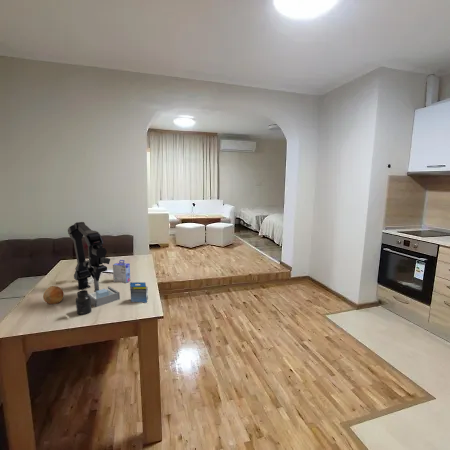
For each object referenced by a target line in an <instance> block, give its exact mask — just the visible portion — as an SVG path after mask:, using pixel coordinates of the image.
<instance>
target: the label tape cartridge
mask: <svg viewBox="0 0 450 450" xmlns="http://www.w3.org/2000/svg"><path fill="white" fill-rule="evenodd" d="M129 288H130V289H129V290H130V302H135V303H136V302H137V303H141V302H142V303H143V304H147V303H148V299H149V290H148V286H147V285H146V282H145V281H144V282H140V281H139V282H137V281H136V282H133V281H132V282H131V281H129Z"/></svg>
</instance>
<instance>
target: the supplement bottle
mask: <svg viewBox="0 0 450 450" xmlns="http://www.w3.org/2000/svg"><path fill="white" fill-rule="evenodd" d="M88 291H89V290H86V289H85V290H84V289H82V290H79V291H78V292H76V296H77V297H76V298H75V307H76V315H78V316H86V315H89V314H91V313H92V308H93V307H92V304H91V298H90V296H89V295H88V294H89V292H88Z"/></svg>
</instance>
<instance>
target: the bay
mask: <svg viewBox="0 0 450 450" xmlns="http://www.w3.org/2000/svg"><path fill="white" fill-rule="evenodd" d="M107 289H109V290H111V291H112V292H114V294H111V295H108V296H104V297H101V298H98V299H95V298H94V297H92V296H91V295H90V293H88V295H89V296H90V298H91V306H93V307H94V308H98V307H100V306H103V305H107V304H110V303H113V302H116V301H120V300H121V296H120V291H118V290H116V289H114V288H113V287H111V286H109V285H108V286H107Z"/></svg>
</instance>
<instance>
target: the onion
mask: <svg viewBox="0 0 450 450" xmlns="http://www.w3.org/2000/svg"><path fill="white" fill-rule="evenodd" d="M64 295H65V294H64V291H63V288H61V287H59V286H57V285H52V286H49V287H48V288H46V290H45V291H44V292H43V296H42V299H43V300H44V302H45V303H46V304H47V305H57V304H59V303H60V302H62V300H63V298H64Z"/></svg>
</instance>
